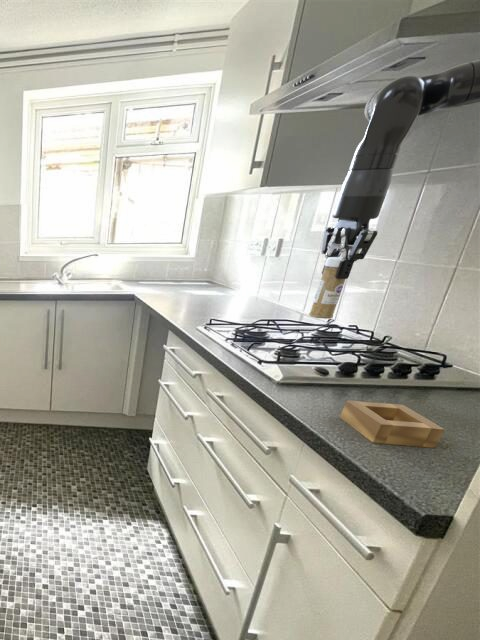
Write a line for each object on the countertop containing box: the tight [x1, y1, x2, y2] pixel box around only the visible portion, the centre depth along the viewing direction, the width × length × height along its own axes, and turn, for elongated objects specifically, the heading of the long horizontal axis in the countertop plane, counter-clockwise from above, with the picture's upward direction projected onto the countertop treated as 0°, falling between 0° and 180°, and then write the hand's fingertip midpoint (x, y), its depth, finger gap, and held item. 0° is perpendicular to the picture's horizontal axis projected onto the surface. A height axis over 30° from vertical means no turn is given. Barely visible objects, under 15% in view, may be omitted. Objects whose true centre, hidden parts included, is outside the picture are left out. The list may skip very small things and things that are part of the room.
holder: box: [339, 400, 446, 449], centre depth 81 cm, size 10×10×4 cm
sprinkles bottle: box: [308, 256, 346, 320], centre depth 95 cm, size 5×5×13 cm
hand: (334, 276), depth 94 cm, fingers closed on sprinkles bottle, 4 cm apart
